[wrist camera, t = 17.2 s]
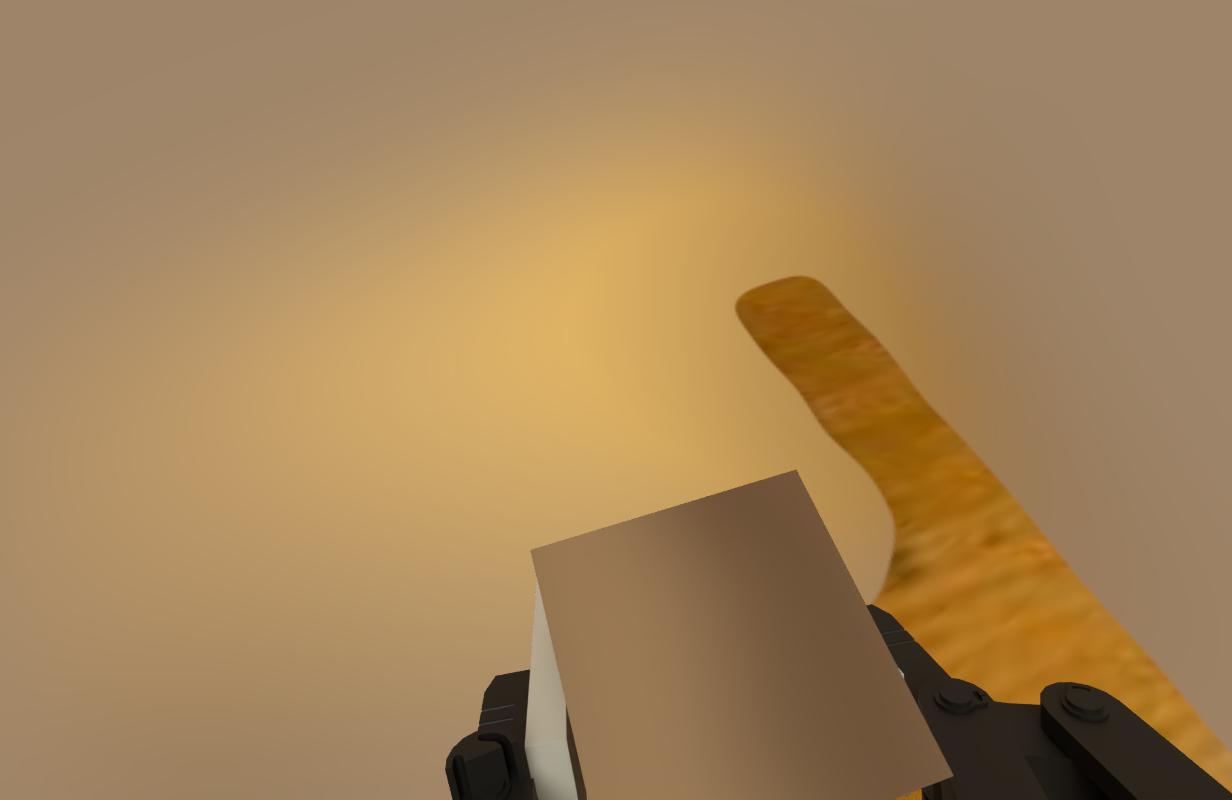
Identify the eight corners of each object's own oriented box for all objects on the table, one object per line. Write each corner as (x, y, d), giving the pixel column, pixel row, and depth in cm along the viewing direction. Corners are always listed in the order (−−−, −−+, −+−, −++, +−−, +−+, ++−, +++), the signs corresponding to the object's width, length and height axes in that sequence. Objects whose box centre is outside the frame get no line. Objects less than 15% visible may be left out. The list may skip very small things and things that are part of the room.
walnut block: (631, 845, 17) (612, 905, 8) (584, 662, 20) (530, 550, 11) (795, 784, 18) (953, 776, 9) (729, 615, 21) (796, 469, 11)
